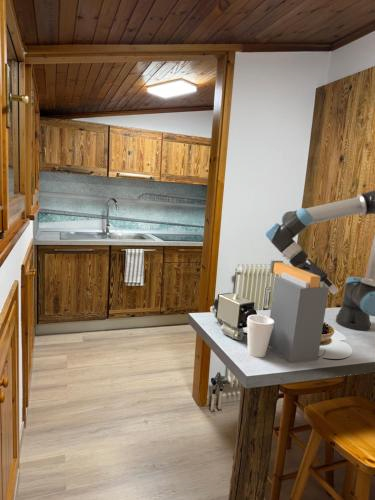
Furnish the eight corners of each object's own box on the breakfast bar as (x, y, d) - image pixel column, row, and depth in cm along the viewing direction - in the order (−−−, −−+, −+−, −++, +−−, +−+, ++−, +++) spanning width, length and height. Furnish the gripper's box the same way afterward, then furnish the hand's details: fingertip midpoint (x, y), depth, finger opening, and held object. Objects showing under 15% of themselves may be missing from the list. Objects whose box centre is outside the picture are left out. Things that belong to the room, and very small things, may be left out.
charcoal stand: (291, 341, 140) (301, 272, 135) (317, 359, 126) (329, 282, 121) (266, 344, 135) (275, 272, 131) (290, 362, 122) (301, 283, 117)
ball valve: (256, 343, 136) (262, 299, 133) (240, 347, 131) (246, 302, 128) (225, 326, 150) (230, 286, 147) (210, 329, 145) (214, 288, 142)
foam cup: (238, 349, 129) (242, 316, 127) (257, 345, 133) (261, 313, 131) (255, 361, 121) (259, 325, 118) (275, 356, 125) (279, 322, 123)
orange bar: (279, 272, 142) (281, 260, 141) (319, 288, 121) (321, 275, 120) (269, 272, 140) (271, 260, 140) (308, 289, 119) (310, 275, 118)
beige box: (205, 304, 154) (222, 302, 160) (203, 320, 155) (220, 317, 161) (218, 311, 146) (236, 308, 152) (217, 327, 148) (234, 324, 153)
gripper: (283, 265, 158) (316, 302, 153) (293, 254, 134) (333, 297, 129) (296, 255, 159) (329, 291, 154) (308, 242, 135) (348, 284, 130)
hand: (331, 294), depth 141 cm, fingers open, 13 cm apart
